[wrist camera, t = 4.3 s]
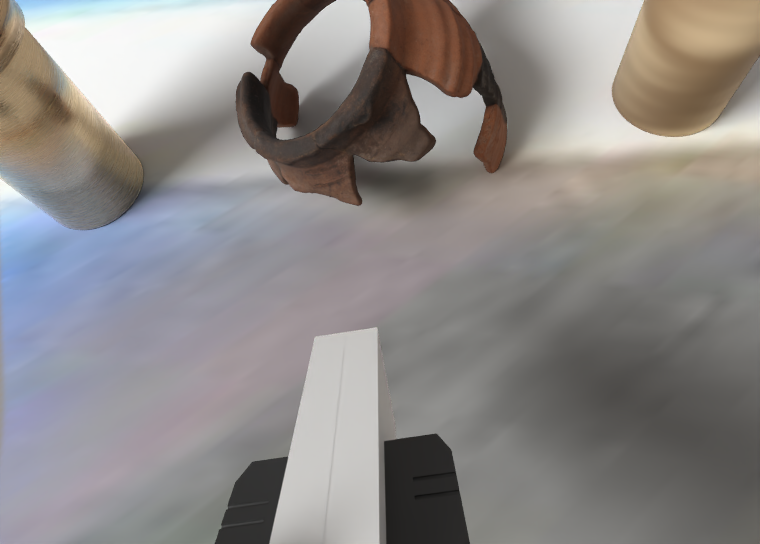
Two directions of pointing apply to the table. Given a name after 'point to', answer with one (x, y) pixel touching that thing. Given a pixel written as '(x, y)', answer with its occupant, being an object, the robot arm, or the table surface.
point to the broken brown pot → (367, 94)
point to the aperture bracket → (58, 137)
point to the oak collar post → (685, 63)
